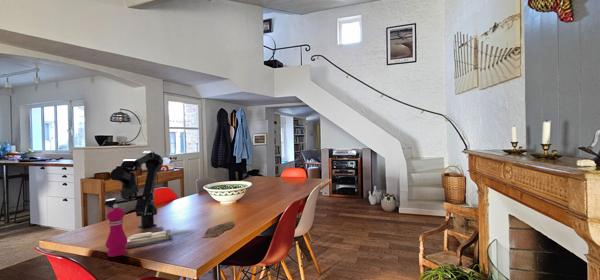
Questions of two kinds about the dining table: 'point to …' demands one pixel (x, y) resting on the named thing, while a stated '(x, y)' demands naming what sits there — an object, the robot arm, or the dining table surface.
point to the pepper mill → (116, 232)
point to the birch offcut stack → (145, 238)
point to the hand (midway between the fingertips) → (132, 218)
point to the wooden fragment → (218, 229)
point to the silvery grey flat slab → (153, 241)
